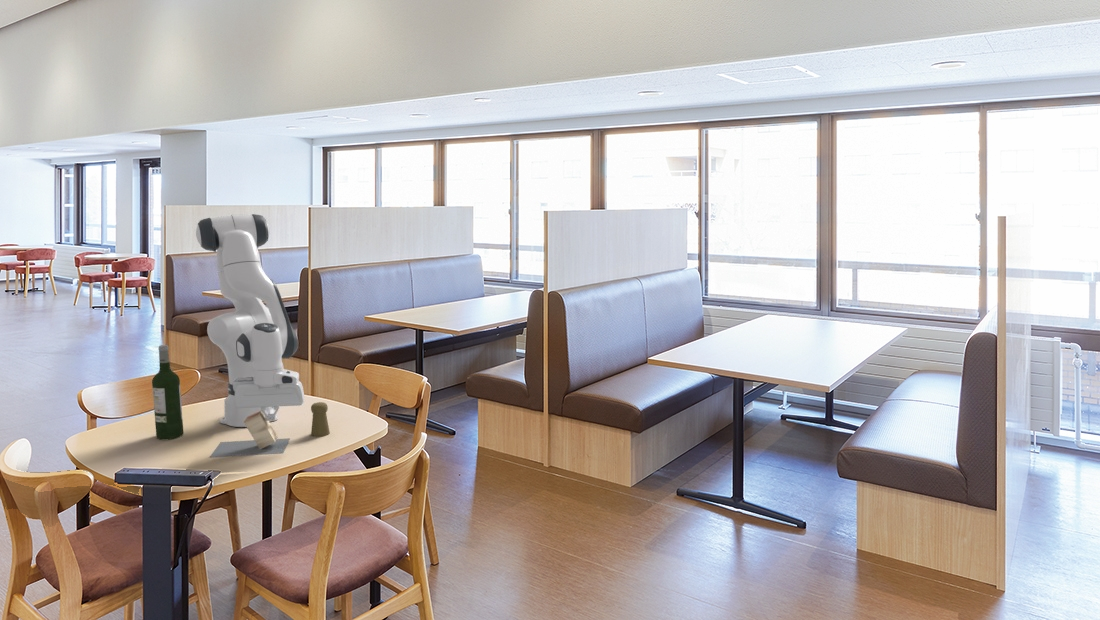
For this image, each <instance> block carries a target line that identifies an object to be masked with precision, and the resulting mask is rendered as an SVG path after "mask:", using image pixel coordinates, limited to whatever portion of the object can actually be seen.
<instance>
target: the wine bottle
mask: <svg viewBox="0 0 1100 620" xmlns="http://www.w3.org/2000/svg"><path fill="white" fill-rule="evenodd" d="M158 358H159V359H158V360H159V371H158V372H157V373H156V374H155V375H154V376H153V378H152V380H151V388H152V398H153V409H154V410H153V411H154V423H155V424H154V425H155V436H156V438H157V439H158V440H162V439H168V440H173V439H174V438H175V439H177V438H180V436H181V437H182V436H183V435H184V424H183V423H184V419H183V408H182V407H183V406H182V396H181V395H182V394H181V393H182V392H181V380H180V377H179V375H178V374H177V373H176V372H174V371H173V370H172V368H171V364H170V355H169V346H168V345H167V344H160V345H158Z"/></svg>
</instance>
